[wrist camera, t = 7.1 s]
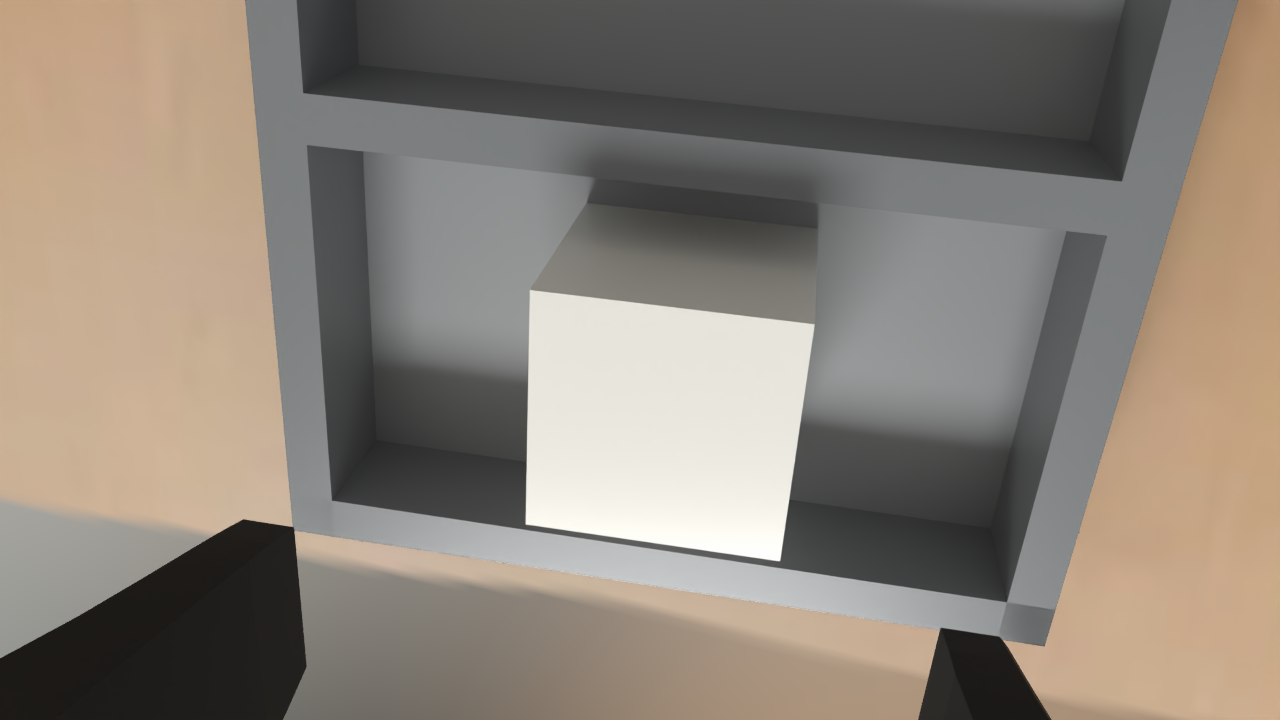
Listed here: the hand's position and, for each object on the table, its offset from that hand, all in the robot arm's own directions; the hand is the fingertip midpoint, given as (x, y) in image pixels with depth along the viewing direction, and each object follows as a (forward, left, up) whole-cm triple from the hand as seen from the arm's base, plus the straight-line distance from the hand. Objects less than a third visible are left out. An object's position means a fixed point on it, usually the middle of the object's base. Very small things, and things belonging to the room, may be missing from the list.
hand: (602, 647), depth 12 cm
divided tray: (-1, -3, -9) cm, 10 cm away
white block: (0, 0, -9) cm, 9 cm away
